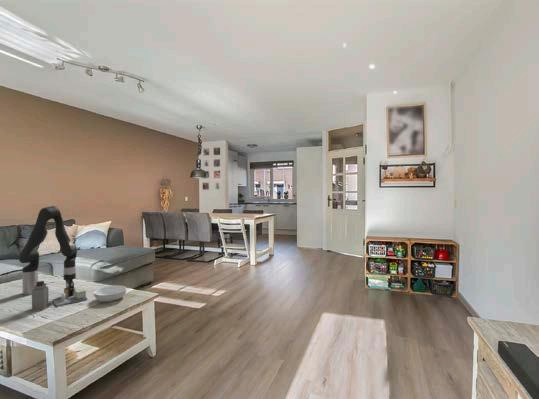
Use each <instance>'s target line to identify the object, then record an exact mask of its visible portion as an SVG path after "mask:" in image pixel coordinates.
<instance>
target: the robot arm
mask: <svg viewBox="0 0 539 399" xmlns="http://www.w3.org/2000/svg"><path fill="white" fill-rule="evenodd" d="M50 220H53V221H54V223H55V228H54V229H55V230H54V234H55V238H56V240H57V242H58V244H59V250H60V253H61V255H62V256H64V257H65V259H64V260H63V271H62V272H63V275H62V276H63V281H65V288H68V289H69V296H73V290H74V287H75V282H74V280H75V279H76V277H77V270H76V258H77V255H78V254H77V253H78V249H77V247H76V246H75V245H71V244H70V242H71V239H70V236H69V234H68V231H67V230H66V227H65V224H64V220H63V217H62V213H61V210H60V209H59V207H57V206H55V205H51V206H45V207H42V208H41V209H40V210H39V212H38V214H37V218H36V221H35V224H34V227H33V228H32V231H31V233H30V235H29V236H28V239H27V241H26V243H25V245H24V247H23V248H22V250H21V251H20V253H19V256H18V261H19V262H20V263H21V264H27V265H26V266H24V267H22V270H21V271H22V272H21V273H22V278H21V279H22V286H21V287H22V295H24V296H29V295H32V290H33V289H34V286H35V285H36V283H37V282H38V281H39V266H40V252H39V250H37V249H36V248H37V247H38V246H40V245H41V244H42V243H43V242H44V241H45V240H46V238H47V235H48V229H47V223H48V222H49V221H50ZM71 288H72V289H71Z"/></svg>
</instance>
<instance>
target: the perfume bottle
mask: <svg viewBox="0 0 539 399" xmlns="http://www.w3.org/2000/svg"><path fill="white" fill-rule="evenodd" d="M48 307H49V286H47V283H45V281H44V280H38V282H37V283H36V285H35V286H34V289H33V290H32V294H31V312H33V311H34V312H35V311H42V310H46V309H47V308H48Z"/></svg>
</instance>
